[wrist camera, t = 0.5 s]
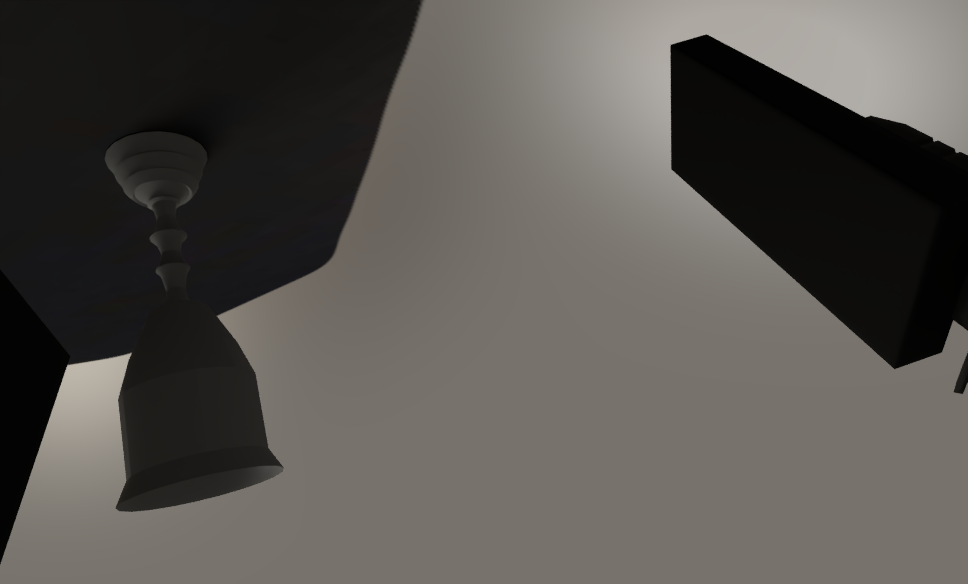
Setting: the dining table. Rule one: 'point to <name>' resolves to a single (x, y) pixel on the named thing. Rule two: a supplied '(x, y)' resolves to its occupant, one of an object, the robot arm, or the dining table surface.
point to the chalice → (182, 357)
